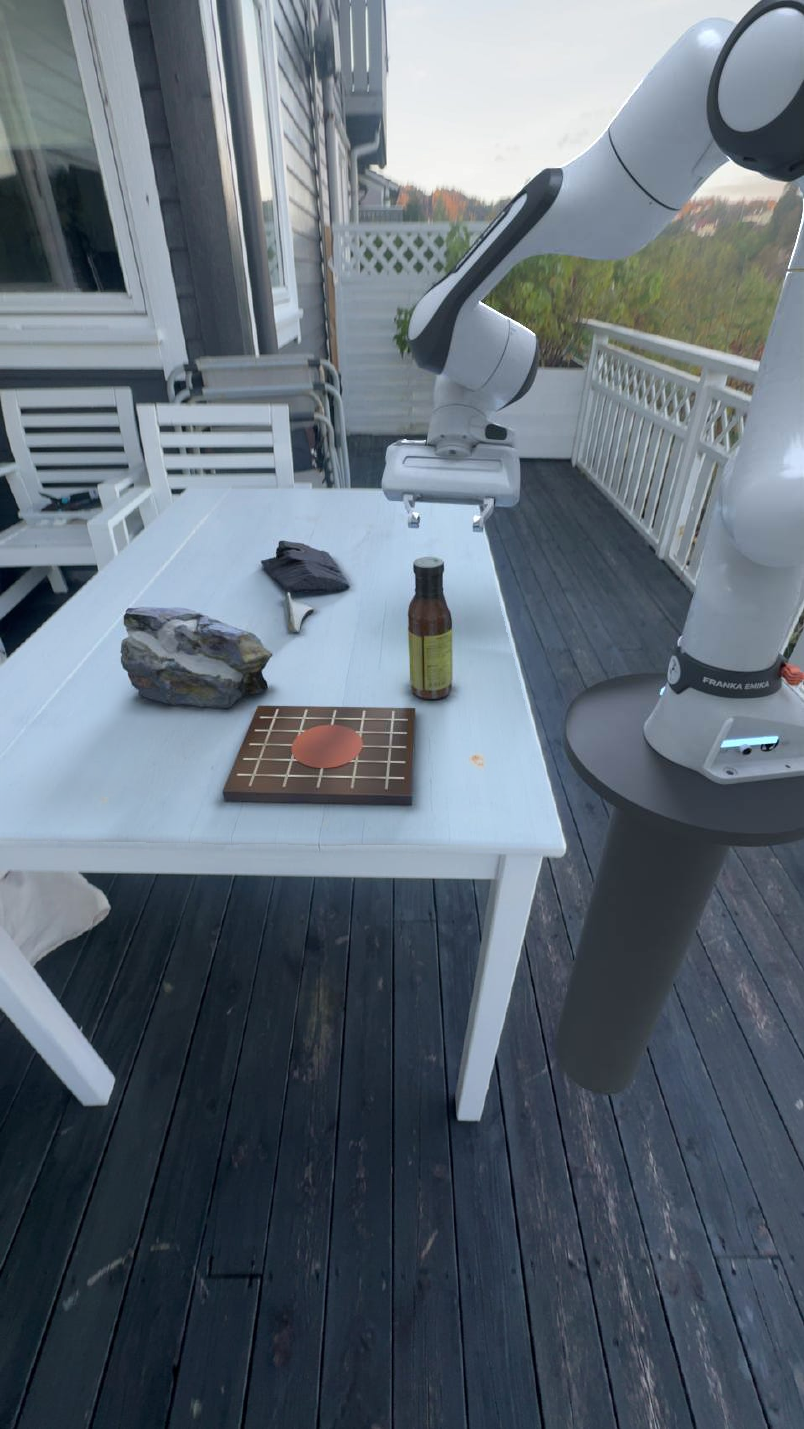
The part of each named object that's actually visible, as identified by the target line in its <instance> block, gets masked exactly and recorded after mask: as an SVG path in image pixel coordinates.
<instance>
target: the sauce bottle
mask: <svg viewBox="0 0 804 1429" xmlns="http://www.w3.org/2000/svg"><path fill="white" fill-rule="evenodd" d="M412 567H413V568H412V569H413V573H414V580H415V581H414V582H415V583H414V586H415V588H414V595H413V597H412V599H411V601H410V602H409V605H408V609H407V619H408V620H407V621H408V622H407V623H408V627H407V638H408V657H409V659H408V660H409V662H408V663H409V682H410V684H411V690H412V693H413V694H414V695H416V696H417V697H419V698H422V699H426V700H438V699H441V698H445V697H447V695H449V694H450V693H451V691H452V688H453V687H452V686H453V679H454V678H453V677H454V675H453V674H454V672H453V669H454V668H453V665H454V664H453V662H454V661H453V659H454V658H453V653H454V652H453V651H454V650H453V649H454V648H453V644H454V643H453V618H452V614H451V610H450V608H449V606H448V604H447V600H446V597H445V593H444V572H445V561H444V560H443V559H442V558H439V557H436V556H422V557H419V558H416V559H415V560H414V561H413V565H412Z"/></svg>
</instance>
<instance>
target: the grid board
mask: <svg viewBox="0 0 804 1429" xmlns="http://www.w3.org/2000/svg"><path fill="white" fill-rule="evenodd" d="M415 736H416V707H383V706H382V707H379V706H378V707H377V706H321V705H316V706H315V705H313V706H312V705H311V706H310V705H260V704H259V705H257V707H256V710H255V712H254V714H253V717H252V718H251V722H250V724H249V726H248V729H247V731H246V733H245V736H244V738H243V741H242V743H241V746H240V748H239V751H238V753H237V755H236V758H235V760H234V762H233V765H232V767H231V770H230V772H229V775H228V777H227V779H226V782H225V785H224V787H223V789H222V795H223V801H225V802H252V803H253V802H254V803H295V804H297V803H298V804H299V803H300V804H308V803H309V804H343V805H344V804H345V805H389V806H391V805H393V806H395V805H396V806H412V805H413V788H414V787H413V786H414V766H415V765H414V763H415V761H414V760H415V740H416V739H415V738H416V737H415Z"/></svg>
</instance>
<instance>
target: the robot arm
mask: <svg viewBox="0 0 804 1429" xmlns="http://www.w3.org/2000/svg"><path fill="white" fill-rule="evenodd" d="M730 161H731V162H733V164H736V166H739V167H741V168H743V169H746V170H749V171H752V172H756V173H758V174H760V175H762V176H763V177H765V178H767V179H769V180H771V181H775V182H776V181H777V182H781V183H782V182H784V183H795V184H796V185H797V186H798V188H799V190H800V192H801V196H802V201H803V202H802V203H803V205H802V206H803V207H802V210H803V211H802V215H801V216H802V217H801V223H800V226H799V231H798V234H797V237H796V238H797V239H796V242H795V245H794V248H793V251H792V254H791V257H790V260H789V264H788V267H787V270H791V271H786V274H785V277H784V281H783V284H782V288H781V291H780V294H779V297H778V301H777V303H776V308H775V311H774V314H773V318H772V320H771V324H770V326H769V331H768V335H767V338H766V341H765V345H764V347H763V350H762V355H761V359H760V361H759V365H758V369H757V373H756V377H755V382H754V386H753V390H752V395H751V399H750V402H749V407H748V411H747V415H746V419H745V423H744V427H743V431H742V435H741V437H740V438H741V439H740V442H739V446H738V447H736V449H735V450H734V451H733V452H732V453H731V455H730V457H729V458H728V460H727V461H726V463H725V466H724V467H723V471H722V475H721V478H720V482H719V485H718V489H717V494H716V499H715V502H714V506H713V509H712V510H713V511H712V515H711V517H710V523H709V526H708V531H707V535H706V539H705V544H704V548H703V553H702V557H701V561H700V564H699V565H700V566H699V570H698V574H697V579H696V583H695V587H694V591H693V594H692V598H691V601H690V605H689V608H688V612H687V616H686V618H685V619H686V620H685V623H684V626H683V630H682V634H681V636H679V637H678V639H677V640H676V642H675V646H674V650H673V652H672V656H671V658H670V661H669V665H668V669H667V673H668V675H667V683H666V686H665V687H664V688H663V689H661V692H660V695H661V697H660V699H659V701H658V703H657V705H656V707H655V709H654V710H653V712H652V714H651V715H650V717H649V718H648V719H647V721H646V722H645V724H644V728H643V731H644V736H645V738H646V740H647V741H648V743H649V744H650V745H651V746H652V747H653V748H654V749H655V750H656V751H657V752H658V753H659V754H661V755H662V756H664V757H665V758H667V759H669V760H671V761H673V762H675V763H677V764H679V765H682V766H684V767H687V768H690V769H693V770H695V771H697V772H699V773H701V774H702V775H704V776H705V777H707V778H708V779H710V780H712V781H714V782H716V783H718V784H723V785H726V784H735V783H744V782H753V781H761V780H770V779H779V778H787V777H796V776H804V701H803V699H801V697H800V696H798V695H797V693H795V692H794V690H792V689H791V688H790V687H789V686H792V687H795V686H799V685H800V684H801V683H804V672H803V671H802V670H801V669H800V668H799V667H798V665H795V664H789V663H788V662H789V661H788V659H787V657H785V655H783V654H781V653H780V652H781V649H782V645H783V644H784V641H785V638H786V636H787V634H788V631H789V627H790V625H791V622H792V620H793V617H794V614H795V612H796V609H797V607H798V605H799V601H800V597H801V589H802V585H803V579H804V0H759V1H758V2H757V3H755V4H754V5H753V6H752V7H751V8H750V9H749V10H748V11H747V12H746V13H745V15H743V17H742V18H741V19H740V20H739V21H738V23H736V22H734V21H732V20H729V19H726V18H721V17H708V18H704V19H702V20H700V21H698V22H696V23H695V24H694V25H691V26H690V27H689V28H688V29H687V30H686V31H685V32H684V33H683V34H682V35H681V36H680V38H679V39H677V40H676V41H675V42H674V43H673V45H671V46H670V48H669V49H668V50H667V51H666V52H665V53H664V55H662V56H661V58H660V59H659V60H658V62H656V64H655V65H654V66H653V67H652V68H651V69H650V71H648V73H647V74H646V76H644V77H643V79H642V80H641V81H640V83H639V84H638V85H637V86H636V87H635V88H634V90H633V91H632V93H631V94H630V95H629V97H628V98H627V99H626V100H625V102H624V103H623V104H622V106H621V107H620V109H619V110H618V111H617V113H616V114H615V116H614V117H613V118H612V120H611V121H610V123H609V124H608V126H607V127H606V128H605V130H604V131H603V132H602V134H601V135H600V136H599V137H598V138H597V139H596V140H595V141H594V142H593V143H592V144H591V145H590V146H589V147H588V148H587V149H585V150H584V151H583V152H581V153H580V154H579V155H578V156H576V157H574V158H573V159H572V160H570V161H568V162H566V163H565V164H562V165H560V166H557V167H546V168H544V169H542V170H540V171H539V172H538V173H536V175H534V176H533V177H532V178H531V179H530V180H529V181H528V182H526V184H525V185H524V186H523V187H522V188H521V189H520V190H519V191H518V192H517V193H516V194H515V195H514V197H513V198H512V199H511V200H510V201H509V202H508V203H507V204H506V205H505V207H504V208H502V210H501V211H500V212H499V213H498V215H496V216H495V218H494V219H493V220H492V221H491V223H490V224H489V225H488V226H487V227H486V228H485V229H484V231H483V232H482V233H481V234H480V235H479V236H478V238H477V239H475V241H474V242H473V243H472V245H471V246H470V247H469V248H468V249H467V250H466V252H465V253H464V254H463V255H462V256H461V258H459V260H457V262H456V263H455V265H453V267H452V268H451V269H450V270H449V271H448V272H447V273H446V274H445V275H444V276H443V277H442V278H441V279H440V280H438V281H437V282H436V283H434V284H433V285H432V286H431V287H430V288H429V289H427V291H426V292H425V293H424V294H423V295H422V297H421V299H420V300H419V302H417V304H416V306H415V308H414V310H413V312H412V315H411V317H410V320H409V322H408V326H407V331H406V338H407V344H408V347H409V350H410V353H411V355H412V357H413V360H414V361H415V364H416V365H417V367H418V368H419V369H422V370H425V371H427V372H430V373H432V374H435V375H436V377H435V382H434V388H433V404H434V405H433V406H434V407H433V410H432V411H431V414H430V417H429V424H428V430H427V439H413V440H407V439H397V441H396V442H392V443H391V444H389V445H388V446H387V447H386V452H385V458H384V462H385V467H384V470H383V474H382V479H381V490H382V493H383V495H384V497H385V498H386V500H388V501H389V502H400V503H401V502H402V503H403V505H404V508H405V511H406V513H407V515H408V516H407V527H408V529H420V523H421V516H420V512H417V511H416V512H415V511H414V510H413V508H415V505H416V503H422V504H439V505H442V504H443V505H458V506H461V505H462V506H478V507H479V506H481V507H483V510H482V512H480V514H479V515H473V520H472V532H473V533H484V528H485V523H486V522H487V521H488V520H489V518H490V517H491V516H492V515H493V513H494V509H495V508H494V507H496V508H497V507H498V508H499V507H500V508H513V507H515V506H516V505H517V504H518V503H519V501H520V496H521V494H520V492H521V462H520V457H519V453H518V451H517V436H516V431H515V430H513V428H510V427H508V426H504V425H500V424H498V423H495V422H493V421H491V420H489V417H490V415H491V413H492V412H499V411H501V410H503V409H506V408H508V407H509V406H510V405H512V404H514V403H516V402H518V401H520V400H521V399H522V398H523V397H524V396H526V395H527V393H528V392H529V391H530V390H531V388H532V386H533V385H534V382H535V380H536V377H537V373H538V369H539V362H540V346H539V341H538V338H537V335H536V334H535V333H534V332H532V331H531V330H530V329H529V328H527V327H525V326H523V325H522V324H520V323H519V322H517V321H515V320H513V319H512V318H510V317H508V316H506V315H504V314H502V313H500V312H498V311H496V310H495V309H493V308H492V307H490V306H488V305H486V304H484V303H483V302H481V301H483V300H484V299H485V297H486V296H487V295H488V294H489V293H490V292H491V291H492V290H493V289H494V288H495V287H496V286H497V285H498V284H499V283H500V282H501V281H502V280H503V278H504V277H505V276H506V275H507V274H508V273H509V272H510V271H511V270H512V269H513V268H514V267H515V266H516V265H517V264H519V263H520V262H523V261H524V260H526V259H528V258H531V257H535V256H540V255H541V256H542V255H563V256H565V255H566V256H572V257H577V258H583V259H589V260H592V261H615V260H621V259H624V258H628V257H630V256H631V257H632V256H633V255H635V254H638V253H639V252H640V251H641V250H643V249H644V248H646V247H647V246H649V244H650V243H652V242H653V241H654V240H655V239H656V238H657V237H658V236H659V235H660V234H661V233H662V232H663V231H664V230H665V229H666V228H667V226H668V225H669V224H670V223H671V222H672V221H673V220H674V218H675V217H676V216H677V215H678V214H679V213H680V212H681V211H682V209H683V208H684V207H685V206H686V204H688V202H689V201H690V200H691V198H693V196H694V195H695V194H696V193H697V191H699V189H700V188H701V187H702V186H703V185H704V183H705V182H706V181H707V180H708V179H709V178H710V177H711V176H712V175H713V174H714V173H715V172H716V171H717V170H719V169H720V168H721V167H722V166H724V165H725V164H727V163H729V162H730ZM794 270H795V271H794ZM782 678H783V679H784V680H785V681H786V683H787V684H788V685H787V684H786V683H785V682H784V681H783V679H782Z"/></svg>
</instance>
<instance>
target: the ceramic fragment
mask: <svg viewBox="0 0 804 1429" xmlns="http://www.w3.org/2000/svg"><path fill="white" fill-rule="evenodd" d="M283 607H284V613H285V620H286V627H287V628H288V630H289V631H291V632H293V633H296V634H300V632H301V625H302V622H303V621H304V619H305V617H306V616H307V615H309V614H311V613H314V608H313V607H311V606H309V605H308V604H305V603H303V602H301V601H297V600H293V599H292V597H291V592H288V591H287V593H286V594H285V597H284V600H283Z"/></svg>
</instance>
